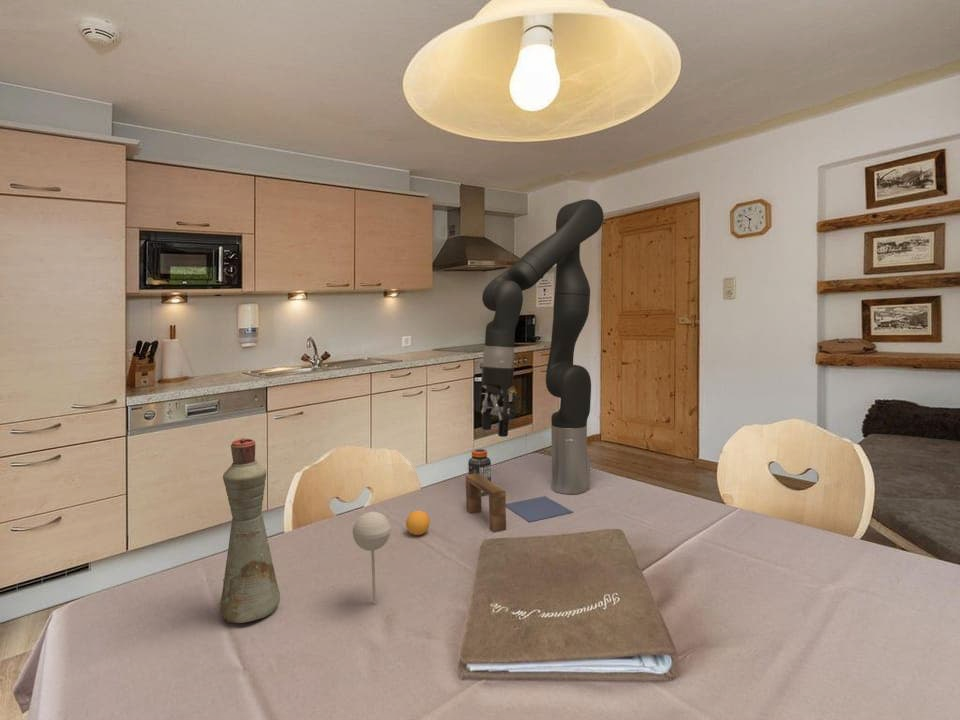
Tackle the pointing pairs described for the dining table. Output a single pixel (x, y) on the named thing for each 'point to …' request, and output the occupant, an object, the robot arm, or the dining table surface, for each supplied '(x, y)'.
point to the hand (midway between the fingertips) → (494, 432)
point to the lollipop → (372, 536)
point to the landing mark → (538, 508)
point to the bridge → (496, 500)
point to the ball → (417, 522)
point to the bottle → (247, 542)
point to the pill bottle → (480, 464)
